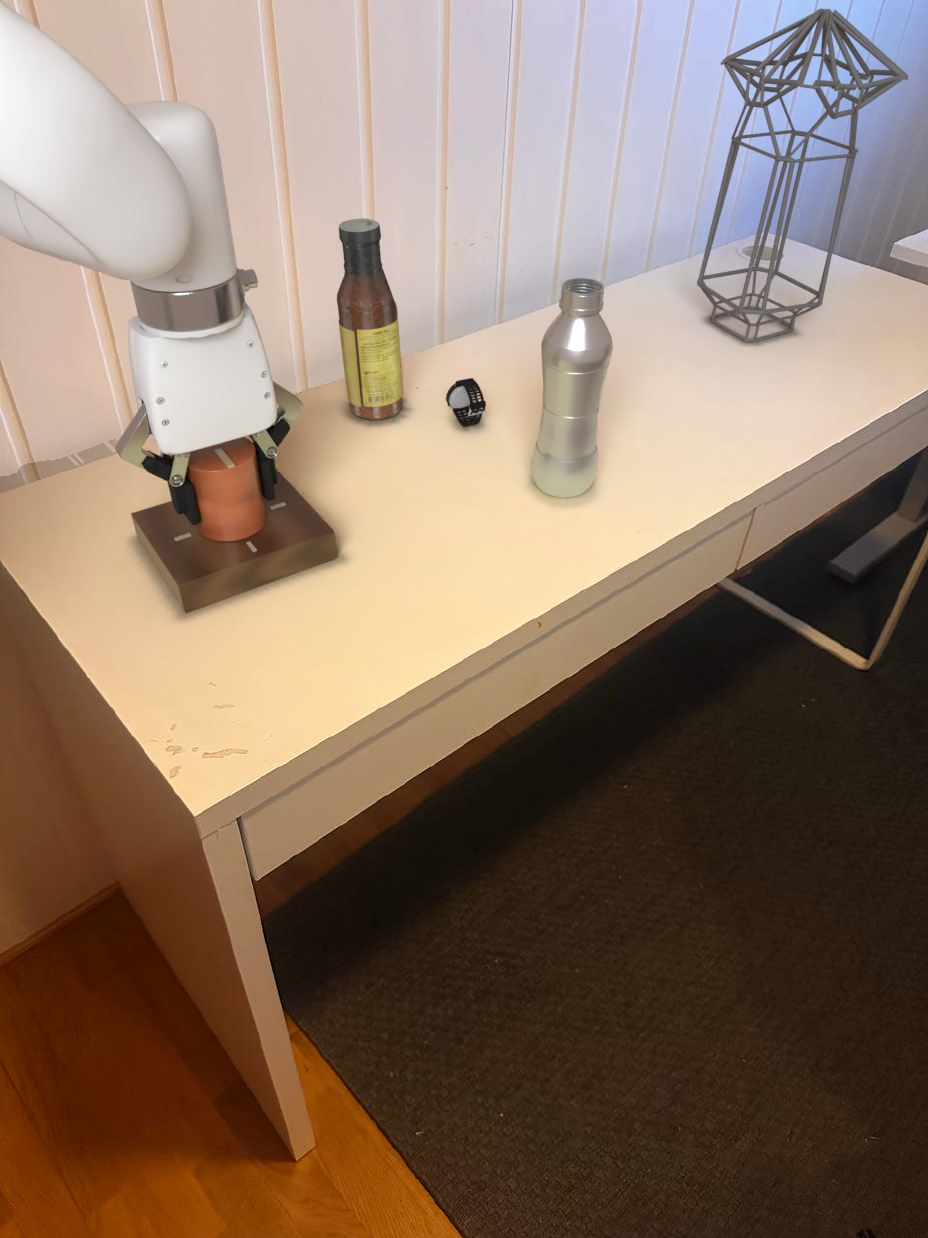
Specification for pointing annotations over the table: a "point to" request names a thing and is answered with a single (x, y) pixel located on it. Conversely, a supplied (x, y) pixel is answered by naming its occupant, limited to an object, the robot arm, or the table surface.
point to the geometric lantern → (838, 28)
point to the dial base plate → (234, 549)
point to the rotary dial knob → (227, 490)
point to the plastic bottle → (572, 391)
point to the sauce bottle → (368, 325)
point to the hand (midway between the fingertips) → (227, 502)
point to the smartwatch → (466, 401)
